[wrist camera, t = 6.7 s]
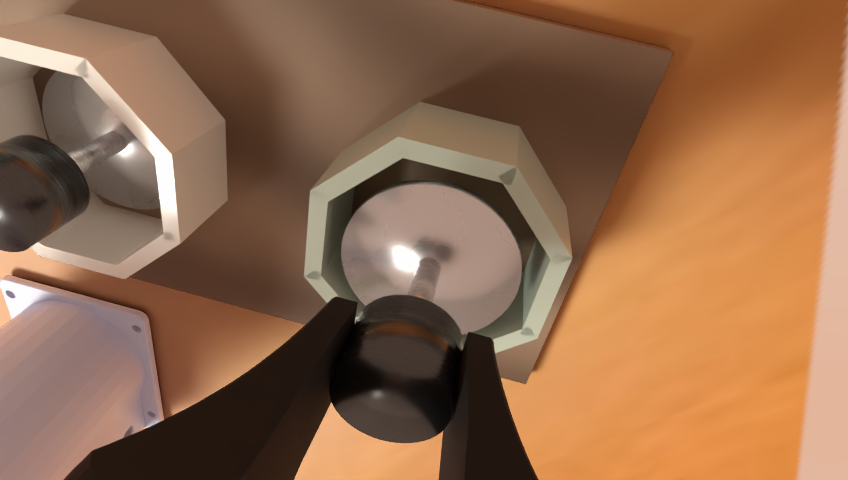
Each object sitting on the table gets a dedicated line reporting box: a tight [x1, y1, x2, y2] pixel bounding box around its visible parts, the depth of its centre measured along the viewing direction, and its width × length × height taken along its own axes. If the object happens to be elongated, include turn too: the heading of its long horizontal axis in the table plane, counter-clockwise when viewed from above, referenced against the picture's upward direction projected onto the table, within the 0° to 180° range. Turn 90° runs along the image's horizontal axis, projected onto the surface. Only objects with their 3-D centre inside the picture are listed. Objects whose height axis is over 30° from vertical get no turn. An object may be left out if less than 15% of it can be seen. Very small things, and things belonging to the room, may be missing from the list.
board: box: [0, 0, 674, 384], centre depth 20 cm, size 15×24×1 cm, turn 79°
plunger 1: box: [0, 71, 161, 252], centre depth 18 cm, size 6×6×6 cm
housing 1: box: [0, 14, 228, 280], centre depth 19 cm, size 8×8×3 cm
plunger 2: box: [329, 179, 522, 443], centre depth 15 cm, size 6×6×6 cm
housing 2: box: [304, 102, 572, 353], centre depth 18 cm, size 8×8×3 cm
